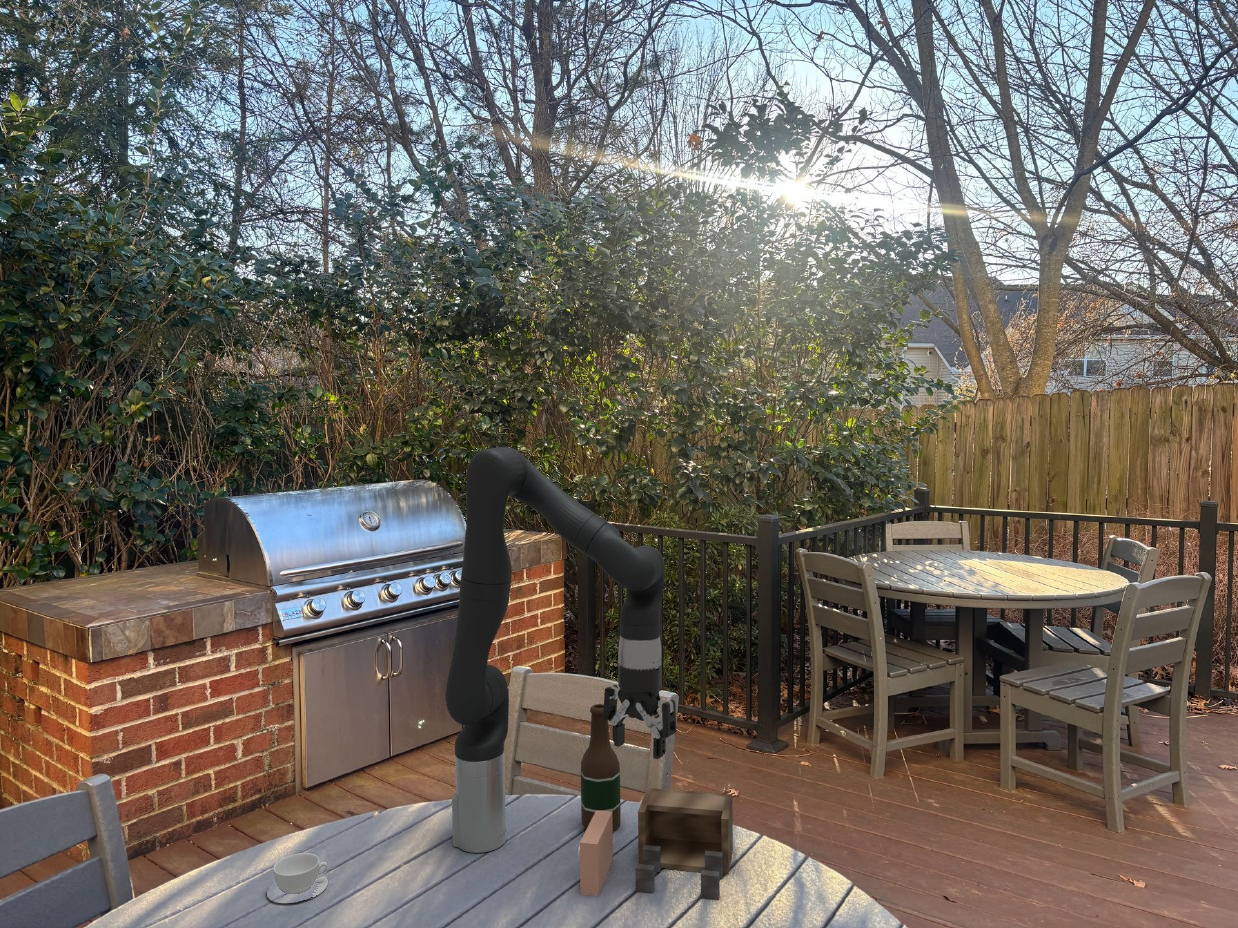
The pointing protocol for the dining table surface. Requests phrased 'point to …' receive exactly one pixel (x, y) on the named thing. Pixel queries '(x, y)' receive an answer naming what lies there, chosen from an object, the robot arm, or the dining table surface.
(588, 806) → the beer bottle
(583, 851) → the door
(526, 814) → the dining table surface
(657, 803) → the cabinet
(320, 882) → the teacup
